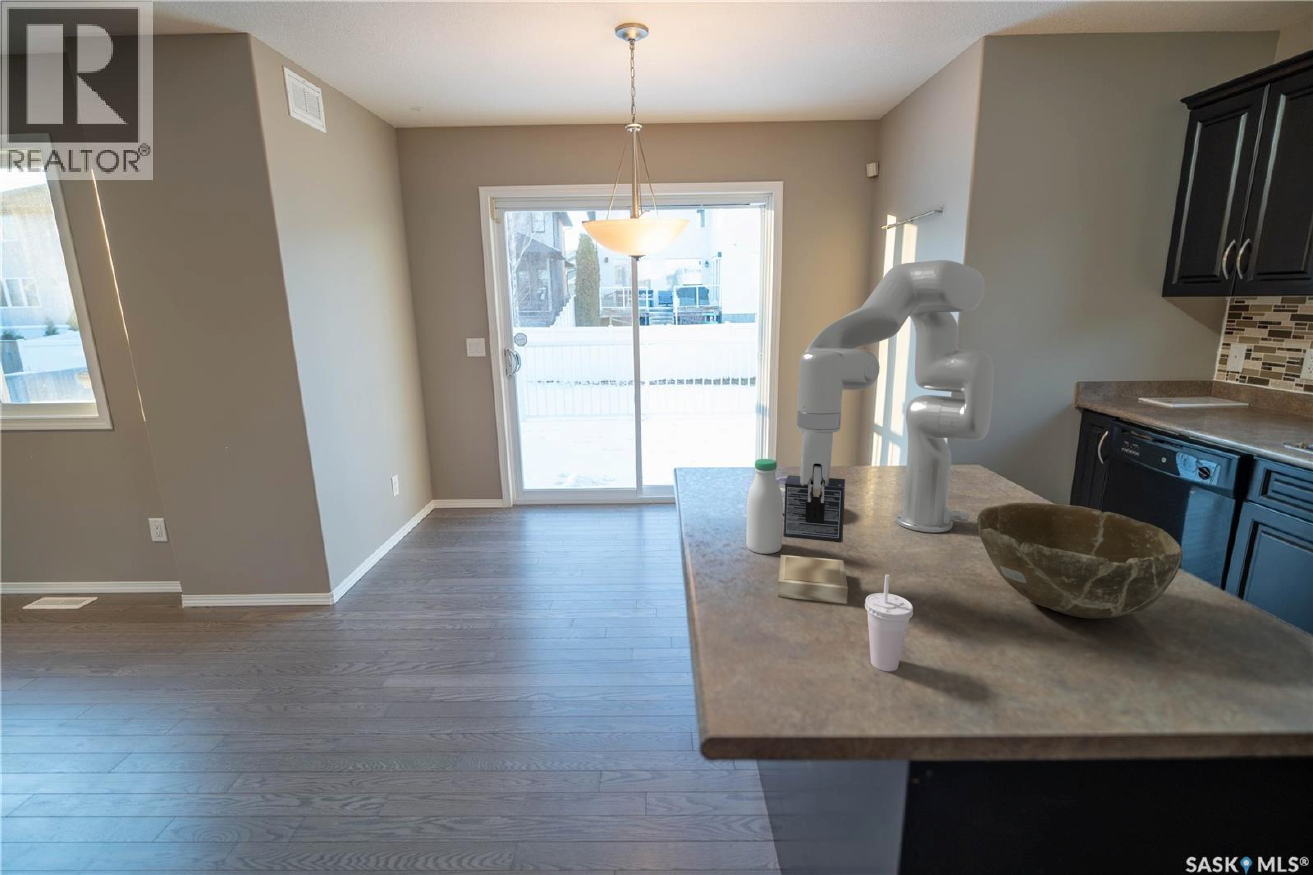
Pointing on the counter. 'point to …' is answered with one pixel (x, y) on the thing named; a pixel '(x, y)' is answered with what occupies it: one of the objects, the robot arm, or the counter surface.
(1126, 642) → the counter surface
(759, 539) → the milk bottle
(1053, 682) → the counter surface
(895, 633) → the smoothie
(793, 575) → the base
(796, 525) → the small box
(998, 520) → the bowl
